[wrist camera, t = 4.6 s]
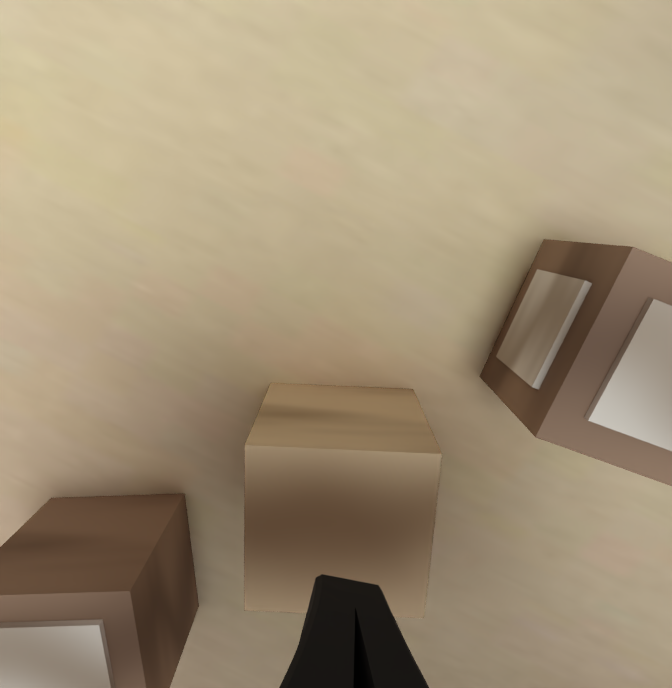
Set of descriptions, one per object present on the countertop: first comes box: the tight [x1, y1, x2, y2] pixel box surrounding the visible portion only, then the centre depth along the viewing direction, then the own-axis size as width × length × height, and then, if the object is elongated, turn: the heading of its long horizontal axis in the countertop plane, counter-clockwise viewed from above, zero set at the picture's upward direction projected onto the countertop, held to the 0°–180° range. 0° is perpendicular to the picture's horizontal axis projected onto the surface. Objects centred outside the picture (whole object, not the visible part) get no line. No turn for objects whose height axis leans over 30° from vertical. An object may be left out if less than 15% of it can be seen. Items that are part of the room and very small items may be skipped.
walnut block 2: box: [480, 239, 672, 486], centre depth 14 cm, size 5×5×5 cm
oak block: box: [244, 383, 442, 618], centre depth 15 cm, size 5×5×5 cm
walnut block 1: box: [0, 494, 199, 688], centre depth 16 cm, size 5×5×5 cm
